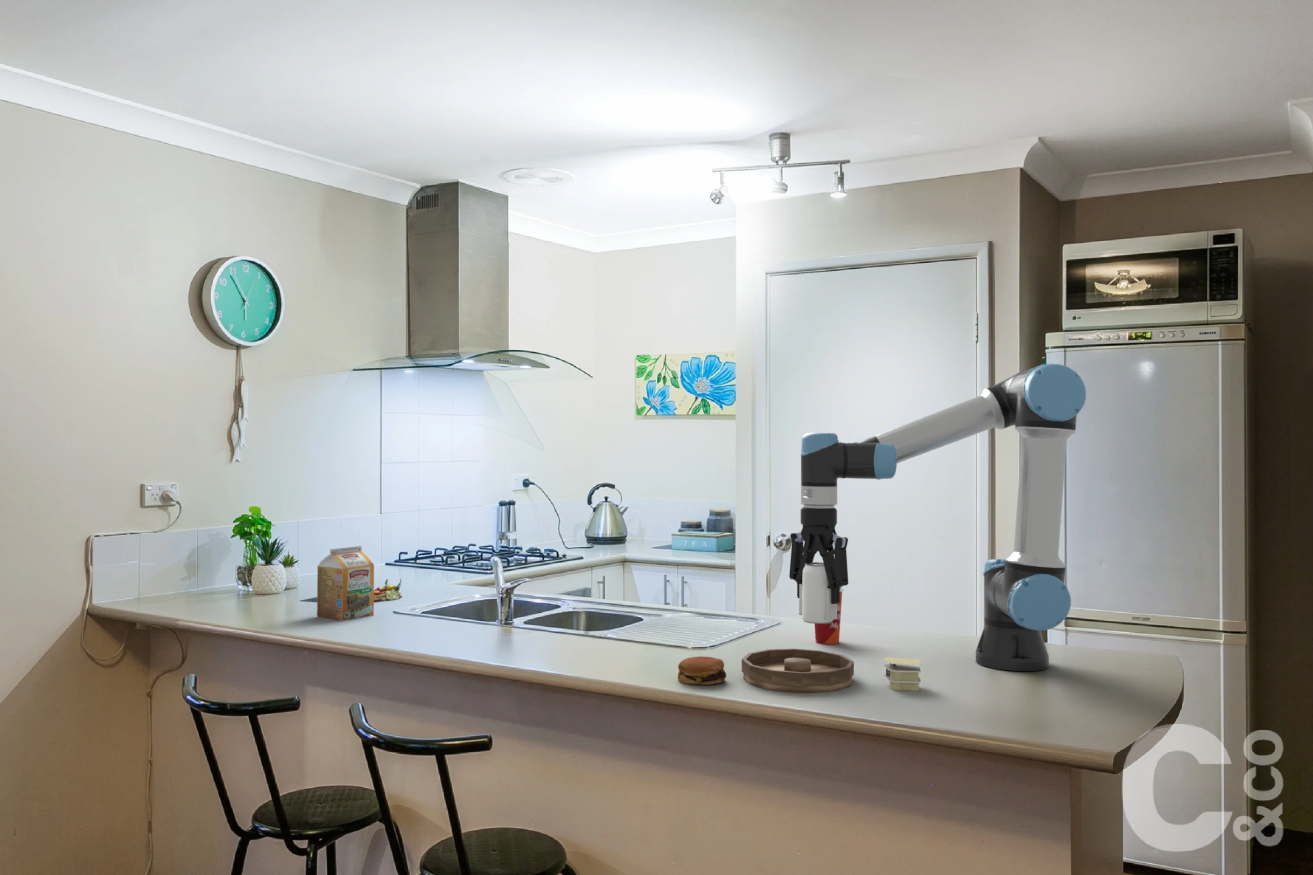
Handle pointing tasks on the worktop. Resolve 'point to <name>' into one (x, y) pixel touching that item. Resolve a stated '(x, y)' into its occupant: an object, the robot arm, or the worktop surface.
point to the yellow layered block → (902, 674)
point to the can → (814, 593)
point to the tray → (798, 670)
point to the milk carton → (345, 585)
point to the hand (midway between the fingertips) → (817, 616)
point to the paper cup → (829, 628)
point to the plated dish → (378, 593)
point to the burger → (701, 671)
